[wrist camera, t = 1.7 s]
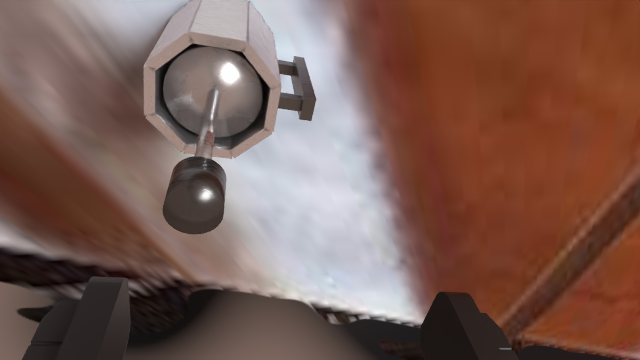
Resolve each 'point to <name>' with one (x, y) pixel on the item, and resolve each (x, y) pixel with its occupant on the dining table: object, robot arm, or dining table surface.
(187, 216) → the plunger
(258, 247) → the dining table surface
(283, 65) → the carafe
